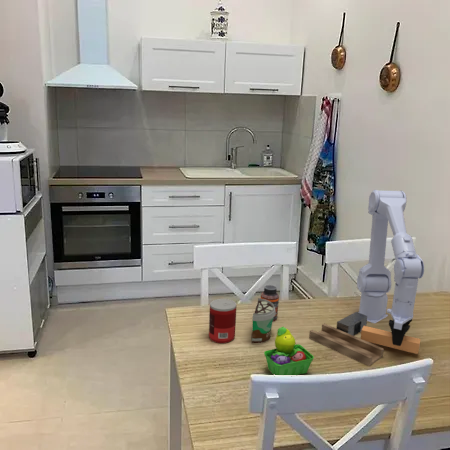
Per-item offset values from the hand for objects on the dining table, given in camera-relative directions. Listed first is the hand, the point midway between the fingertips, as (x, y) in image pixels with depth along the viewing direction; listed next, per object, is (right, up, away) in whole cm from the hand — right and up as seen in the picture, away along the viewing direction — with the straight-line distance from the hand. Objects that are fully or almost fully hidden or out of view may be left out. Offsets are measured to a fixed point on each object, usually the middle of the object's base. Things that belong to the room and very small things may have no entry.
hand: (397, 341), depth 134 cm
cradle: (-15, -2, +2) cm, 15 cm away
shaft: (-2, -1, +1) cm, 3 cm away
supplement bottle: (-36, +3, +18) cm, 40 cm away
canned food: (-51, 0, +5) cm, 51 cm away
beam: (-11, 0, +11) cm, 15 cm away
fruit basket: (-34, -5, -10) cm, 36 cm away
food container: (-38, 0, +7) cm, 39 cm away
